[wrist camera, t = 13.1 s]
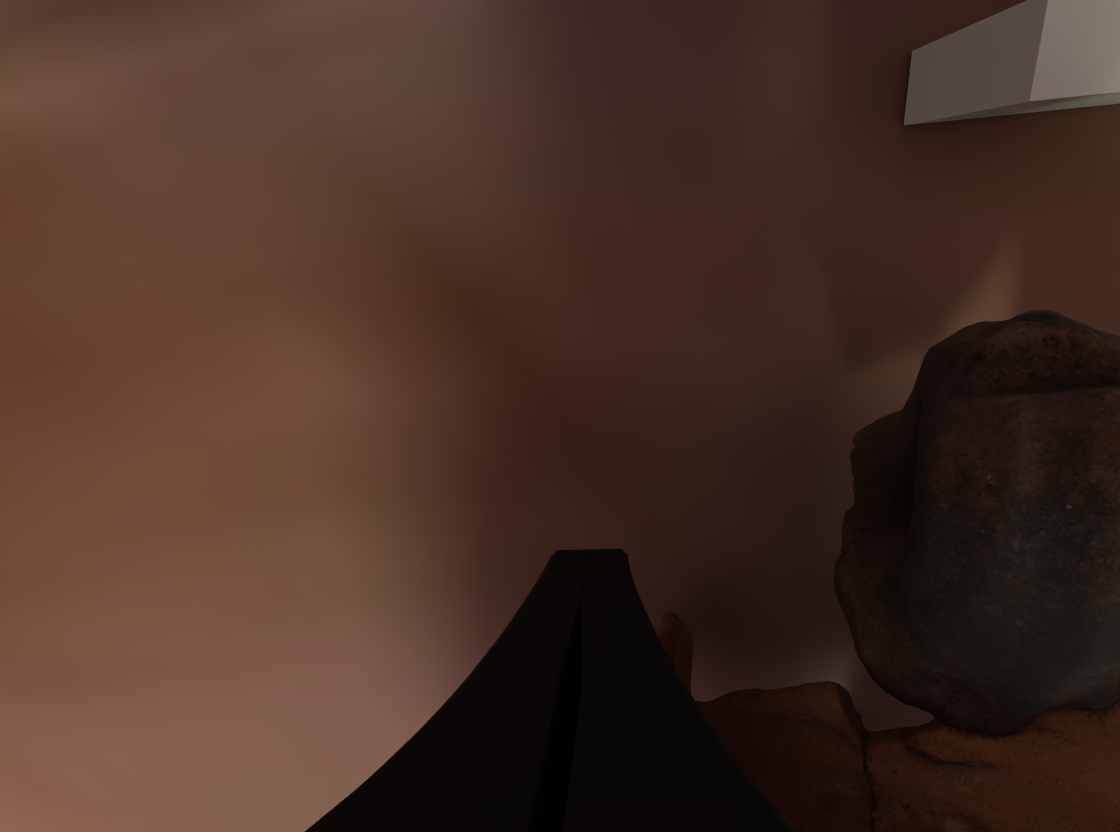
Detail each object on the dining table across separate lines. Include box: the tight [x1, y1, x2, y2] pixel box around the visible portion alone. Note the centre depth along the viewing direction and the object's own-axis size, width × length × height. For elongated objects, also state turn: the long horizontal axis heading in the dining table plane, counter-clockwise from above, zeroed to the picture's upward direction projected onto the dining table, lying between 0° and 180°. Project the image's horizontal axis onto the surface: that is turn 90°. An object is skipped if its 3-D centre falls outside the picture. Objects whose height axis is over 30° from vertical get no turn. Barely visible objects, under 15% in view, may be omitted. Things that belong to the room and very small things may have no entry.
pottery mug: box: [657, 311, 1120, 832], centre depth 10 cm, size 12×9×8 cm
